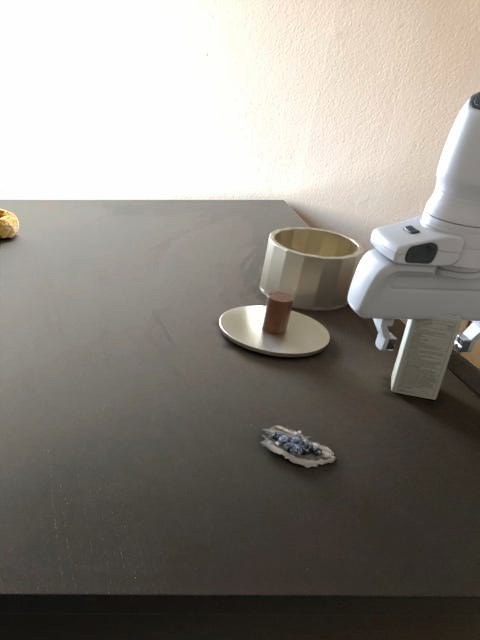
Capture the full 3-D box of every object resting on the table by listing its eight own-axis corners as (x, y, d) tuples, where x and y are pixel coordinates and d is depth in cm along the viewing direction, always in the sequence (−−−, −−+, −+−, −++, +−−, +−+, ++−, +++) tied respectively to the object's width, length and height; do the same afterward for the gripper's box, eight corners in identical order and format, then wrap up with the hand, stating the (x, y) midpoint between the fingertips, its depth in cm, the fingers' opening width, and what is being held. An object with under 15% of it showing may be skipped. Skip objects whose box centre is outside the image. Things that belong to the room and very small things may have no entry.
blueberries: (261, 424, 85) (264, 411, 84) (336, 440, 82) (340, 426, 81) (256, 457, 79) (259, 443, 78) (336, 475, 77) (340, 460, 76)
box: (434, 385, 93) (462, 305, 88) (436, 401, 90) (465, 319, 84) (388, 375, 95) (413, 297, 90) (388, 391, 92) (414, 311, 86)
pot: (329, 276, 124) (342, 227, 119) (365, 311, 112) (380, 258, 108) (248, 275, 123) (258, 226, 119) (275, 310, 112) (286, 257, 107)
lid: (305, 313, 111) (314, 276, 108) (345, 361, 98) (357, 321, 95) (206, 312, 111) (213, 274, 108) (234, 360, 98) (242, 319, 95)
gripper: (534, 233, 86) (492, 338, 93) (359, 229, 86) (329, 335, 92) (570, 253, 80) (523, 363, 87) (383, 248, 80) (350, 360, 87)
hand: (422, 349), depth 90 cm, fingers open, 8 cm apart
